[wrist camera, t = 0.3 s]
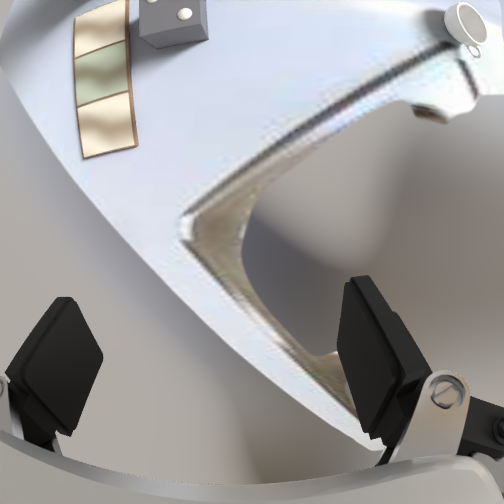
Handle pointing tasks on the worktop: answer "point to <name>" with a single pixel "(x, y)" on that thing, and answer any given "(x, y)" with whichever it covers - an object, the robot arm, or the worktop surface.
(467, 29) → the teacup
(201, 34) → the die
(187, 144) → the worktop surface
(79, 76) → the game track
